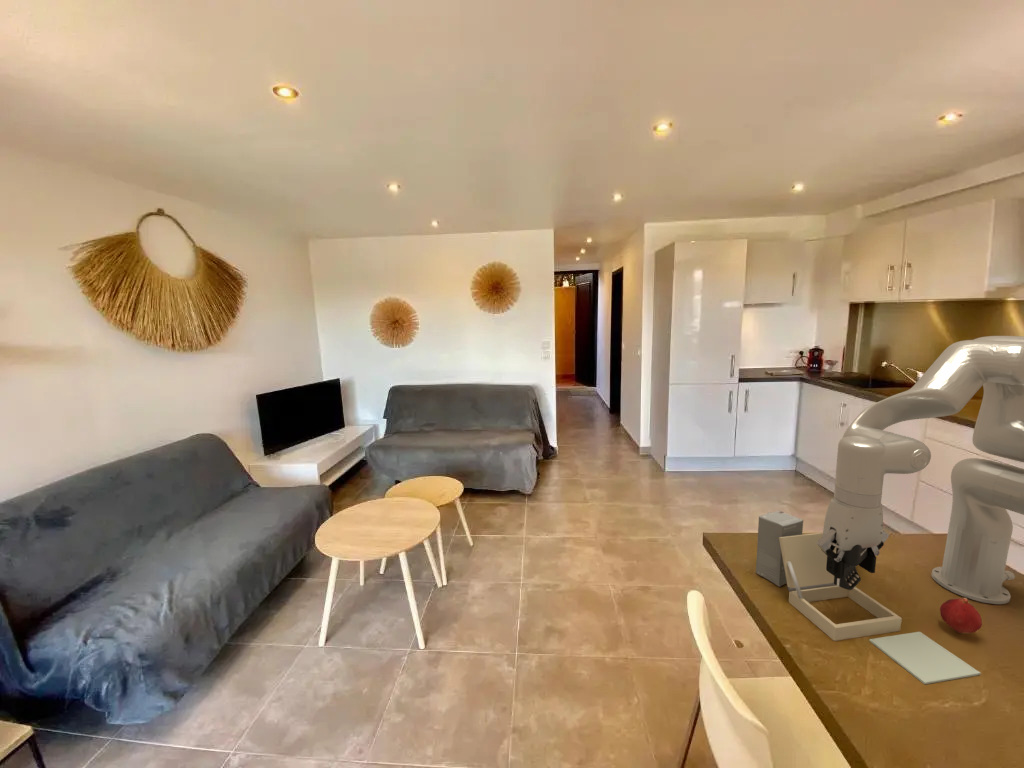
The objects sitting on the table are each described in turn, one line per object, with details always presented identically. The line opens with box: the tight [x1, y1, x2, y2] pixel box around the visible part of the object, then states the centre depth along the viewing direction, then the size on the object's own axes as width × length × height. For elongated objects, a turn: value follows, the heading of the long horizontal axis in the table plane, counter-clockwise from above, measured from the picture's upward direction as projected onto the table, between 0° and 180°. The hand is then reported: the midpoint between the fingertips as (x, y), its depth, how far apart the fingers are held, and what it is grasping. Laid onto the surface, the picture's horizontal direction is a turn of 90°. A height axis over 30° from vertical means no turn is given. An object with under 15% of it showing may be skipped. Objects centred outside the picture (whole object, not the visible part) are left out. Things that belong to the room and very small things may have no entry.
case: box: [779, 531, 903, 642], centre depth 91 cm, size 16×16×14 cm
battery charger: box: [834, 543, 868, 590], centre depth 88 cm, size 7×4×11 cm, turn 123°
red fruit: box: [939, 597, 983, 634], centre depth 84 cm, size 6×6×8 cm
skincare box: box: [755, 510, 804, 587], centre depth 103 cm, size 8×7×16 cm
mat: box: [868, 631, 982, 685], centre depth 79 cm, size 12×10×1 cm
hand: (850, 571), depth 88 cm, fingers closed on battery charger, 7 cm apart
